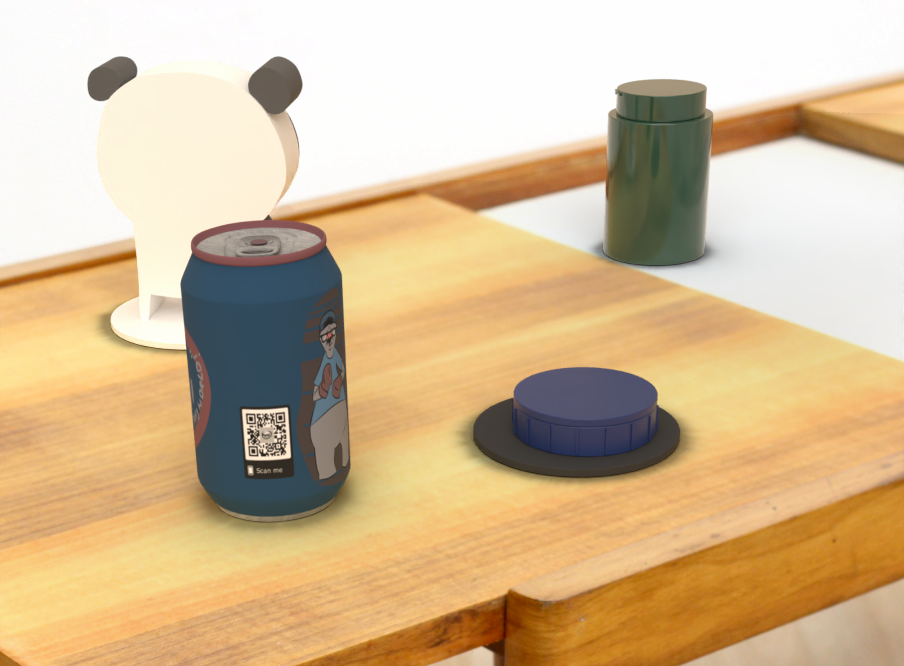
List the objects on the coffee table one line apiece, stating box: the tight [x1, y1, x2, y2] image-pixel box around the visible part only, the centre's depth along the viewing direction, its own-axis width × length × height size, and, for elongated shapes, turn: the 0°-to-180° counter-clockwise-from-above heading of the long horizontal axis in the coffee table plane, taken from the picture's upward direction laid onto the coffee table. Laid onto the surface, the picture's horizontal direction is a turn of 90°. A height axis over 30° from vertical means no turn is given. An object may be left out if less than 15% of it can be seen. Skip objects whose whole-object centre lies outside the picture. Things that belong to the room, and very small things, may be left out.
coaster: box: [472, 396, 681, 478], centre depth 76 cm, size 10×10×1 cm
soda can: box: [180, 219, 352, 523], centre depth 68 cm, size 7×7×12 cm
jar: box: [602, 78, 714, 266], centre depth 100 cm, size 7×7×11 cm
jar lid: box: [511, 366, 660, 457], centre depth 75 cm, size 7×7×2 cm
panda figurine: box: [86, 55, 304, 351], centre depth 90 cm, size 12×11×15 cm
